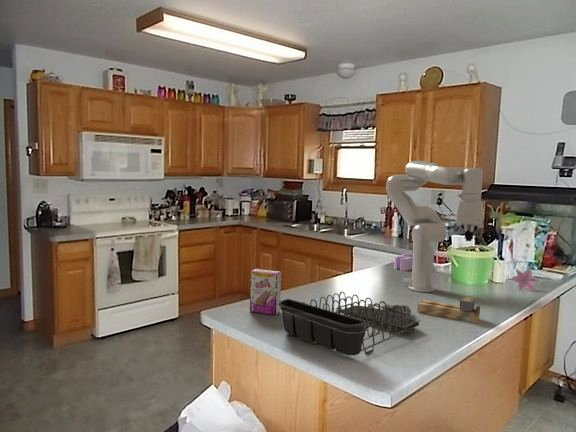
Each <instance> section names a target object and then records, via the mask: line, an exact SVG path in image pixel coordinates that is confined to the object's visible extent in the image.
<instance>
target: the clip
mask: <svg viewBox="0 0 576 432" xmlns="http://www.w3.org/2000/svg"><path fill="white" fill-rule="evenodd" d="M393 264H394V265H393V267H394V268H393V269H394V270H398V269H399V271H412V264H413V253H402V254H400V255H397V256H394V263H393Z"/></svg>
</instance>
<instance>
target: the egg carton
mask: <svg viewBox="0 0 576 432" xmlns="http://www.w3.org/2000/svg"><path fill="white" fill-rule="evenodd" d="M396 305H397V304H396ZM396 305H395V304H387V303H386V306H387V308H390V307H392V308H394V307H395V306H396ZM399 306H400V307H401V309H402V312H405V313H408V314H410V317H412V316H411V314H412V310H411V308H410V306H409V304H405V305H404V304H403V305H401V304H400V305H399ZM382 307H385V304H383V305H382ZM384 309H385V308H383V310H384ZM401 309H400V308H399V307H398V306H397V307H395V310H398V311H401ZM385 310H386V309H385ZM387 311H388V309H387ZM389 311H390V312H393V310H389ZM397 314H400V315H401V313H400V312H397ZM402 315H404V316H407V317H409V315H407V314H404V313H402Z"/></svg>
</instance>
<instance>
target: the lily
mask: <svg viewBox="0 0 576 432" xmlns="http://www.w3.org/2000/svg"><path fill="white" fill-rule="evenodd" d="M515 272H516V275H514V276H512V277H510V278H509V280H510V281H513V282H515V283H517V284H518V290H519V291H522V290H524V289H525V288H527V289H528V290H530V291H531V292H533V293H535V292H536V288H535V285H534V283H537V282H539V279H537V278H535V277H533V271H532V268H527V269H526V270H525V271H524V272H522V271H521V270H519V269H515Z"/></svg>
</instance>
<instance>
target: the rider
mask: <svg viewBox="0 0 576 432" xmlns="http://www.w3.org/2000/svg"><path fill="white" fill-rule="evenodd" d="M475 303H476V299H475V298H473V297H468V296H466V297H465V296H463V297H462V298H461V299H460V300H459V306H460V308H459V310H464V311H469V312H472V311H473V309H475V308H476V306H475V305H476V304H475Z"/></svg>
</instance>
